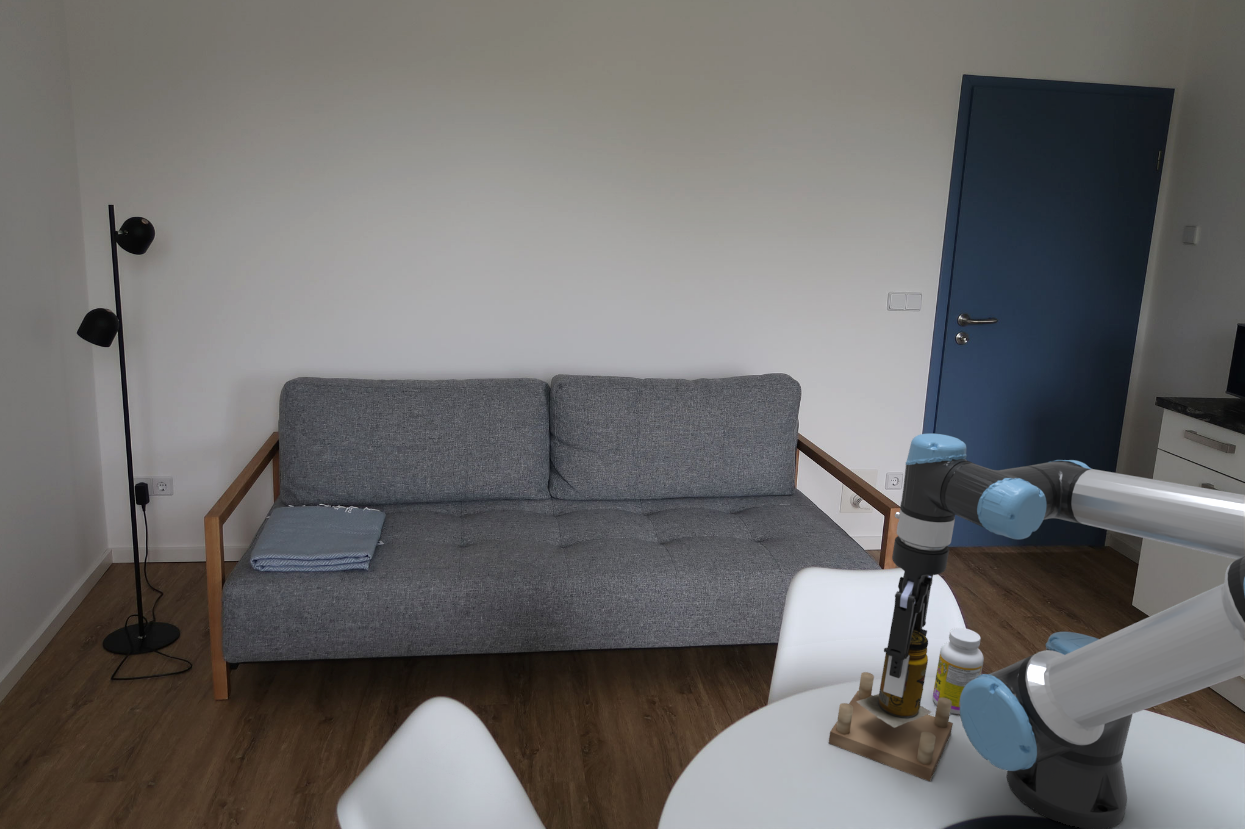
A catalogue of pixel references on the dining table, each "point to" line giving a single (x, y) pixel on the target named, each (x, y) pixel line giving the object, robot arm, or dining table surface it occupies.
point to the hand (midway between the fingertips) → (899, 683)
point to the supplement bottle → (957, 666)
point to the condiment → (908, 706)
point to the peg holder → (893, 735)
